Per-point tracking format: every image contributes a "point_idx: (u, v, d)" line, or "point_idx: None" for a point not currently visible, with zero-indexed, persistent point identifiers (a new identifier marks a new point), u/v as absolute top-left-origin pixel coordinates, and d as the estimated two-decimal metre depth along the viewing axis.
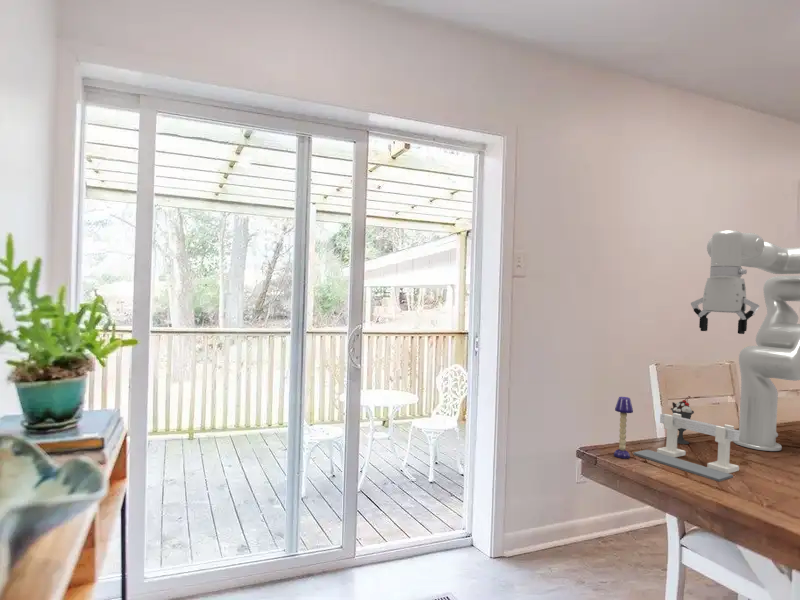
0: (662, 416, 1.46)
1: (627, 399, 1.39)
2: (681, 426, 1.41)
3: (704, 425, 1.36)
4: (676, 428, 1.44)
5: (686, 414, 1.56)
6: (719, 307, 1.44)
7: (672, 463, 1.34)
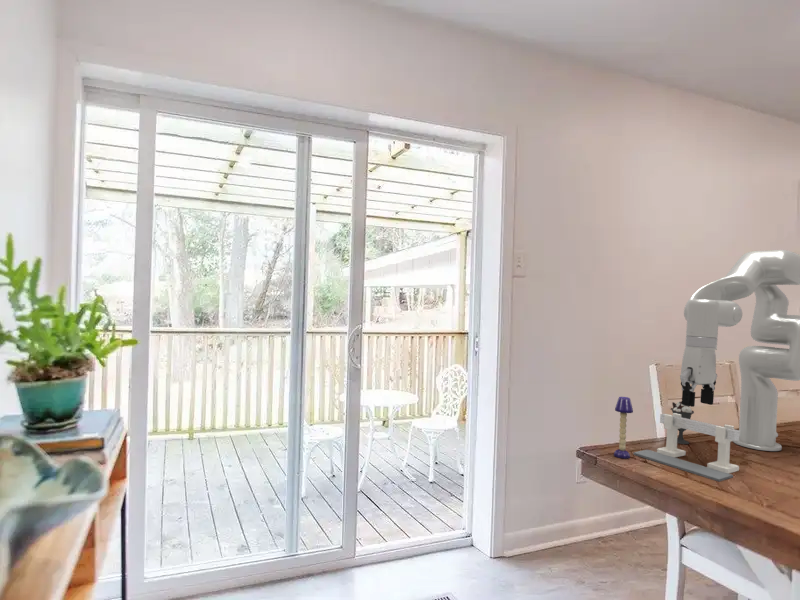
0: (662, 416, 1.46)
1: (627, 399, 1.39)
2: (681, 426, 1.41)
3: (704, 425, 1.36)
4: (676, 428, 1.44)
5: (686, 414, 1.56)
6: (705, 380, 1.37)
7: (672, 463, 1.34)
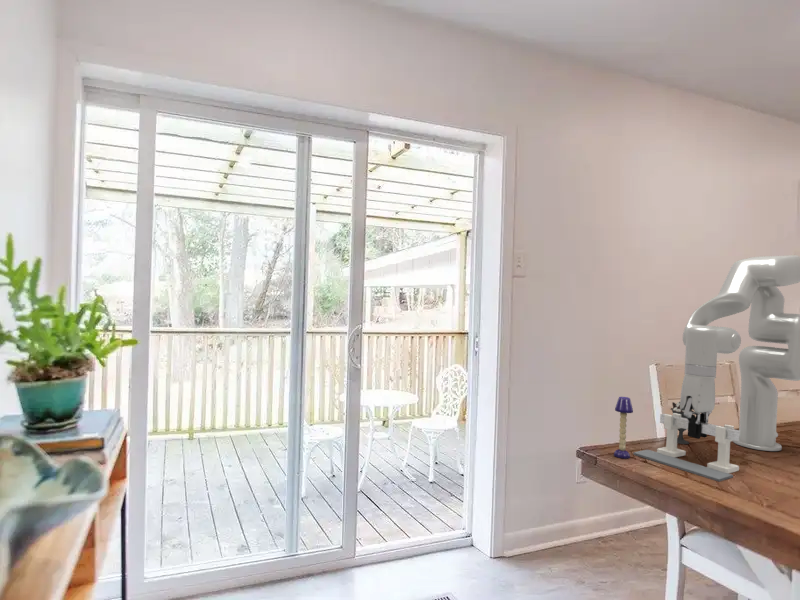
0: (662, 416, 1.46)
1: (627, 399, 1.39)
2: (681, 426, 1.41)
3: (704, 425, 1.36)
4: (676, 428, 1.44)
5: None
6: (705, 408, 1.37)
7: (672, 463, 1.34)
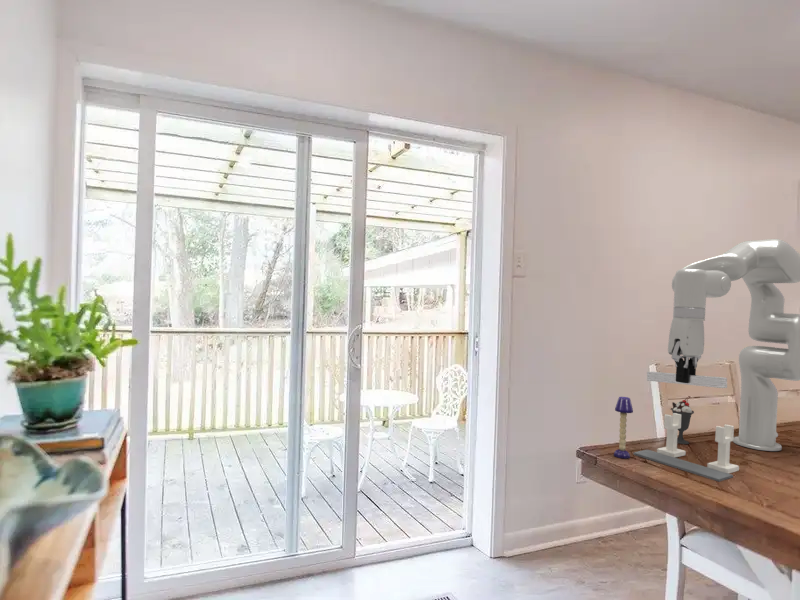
0: (649, 373, 1.42)
1: (627, 399, 1.39)
2: (668, 381, 1.38)
3: (691, 376, 1.32)
4: (676, 428, 1.44)
5: (686, 414, 1.56)
6: (693, 351, 1.33)
7: (672, 463, 1.34)
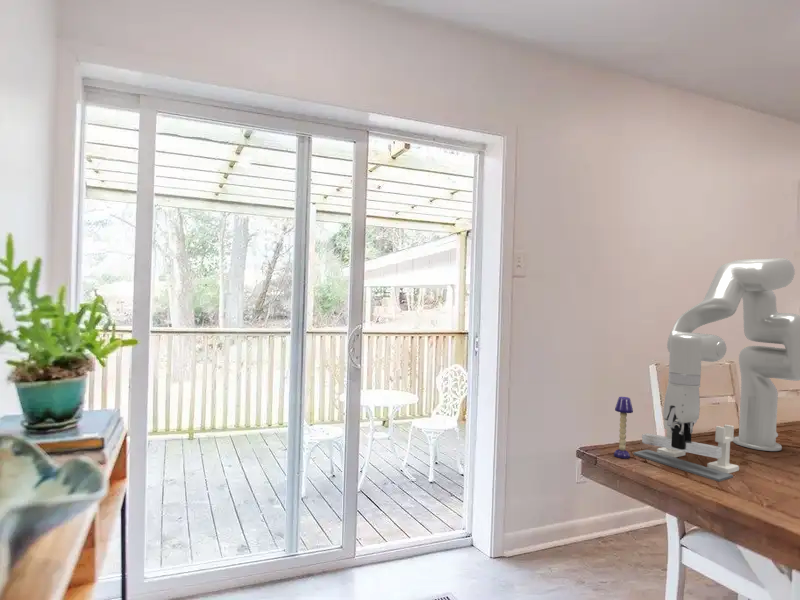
0: (644, 436, 1.42)
1: (627, 399, 1.39)
2: (663, 445, 1.37)
3: (686, 443, 1.32)
4: None
5: None
6: (689, 418, 1.33)
7: (672, 463, 1.34)
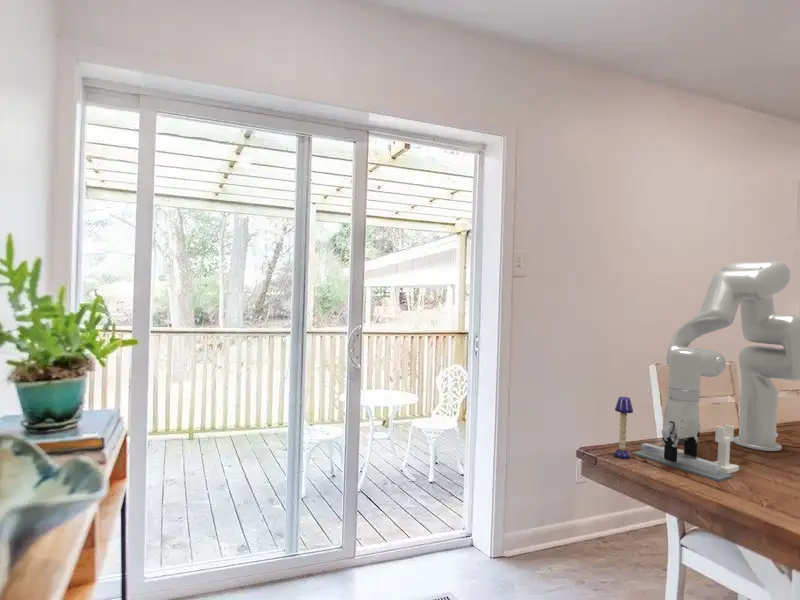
0: (643, 446, 1.42)
1: (627, 399, 1.39)
2: (662, 457, 1.37)
3: (685, 457, 1.32)
4: None
5: None
6: (688, 433, 1.33)
7: (672, 463, 1.34)
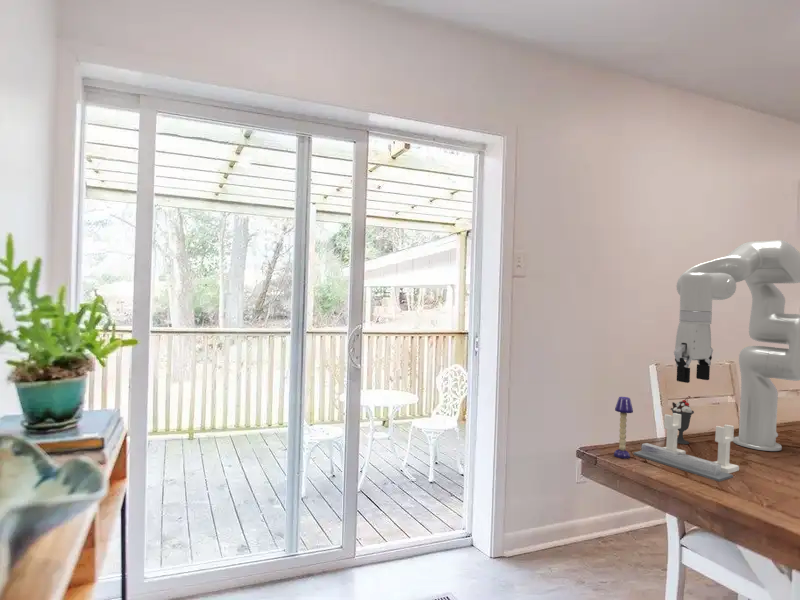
0: (643, 446, 1.42)
1: (627, 399, 1.39)
2: (662, 457, 1.37)
3: (685, 457, 1.32)
4: (676, 428, 1.44)
5: (686, 414, 1.56)
6: (700, 355, 1.33)
7: (672, 463, 1.34)
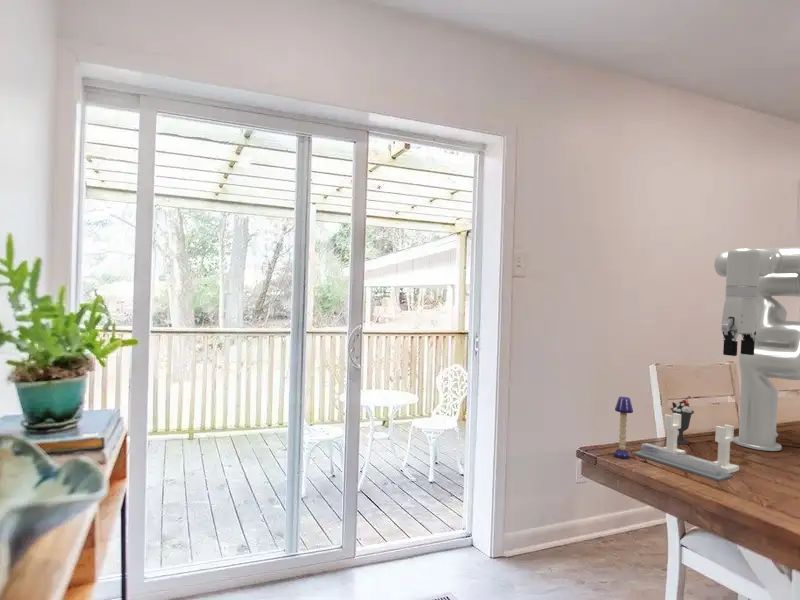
0: (643, 446, 1.42)
1: (627, 399, 1.39)
2: (662, 457, 1.37)
3: (685, 457, 1.32)
4: (676, 428, 1.44)
5: (686, 414, 1.56)
6: (747, 329, 1.36)
7: (672, 463, 1.34)
